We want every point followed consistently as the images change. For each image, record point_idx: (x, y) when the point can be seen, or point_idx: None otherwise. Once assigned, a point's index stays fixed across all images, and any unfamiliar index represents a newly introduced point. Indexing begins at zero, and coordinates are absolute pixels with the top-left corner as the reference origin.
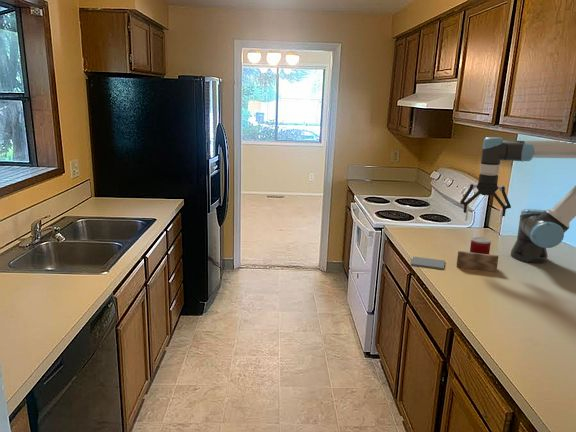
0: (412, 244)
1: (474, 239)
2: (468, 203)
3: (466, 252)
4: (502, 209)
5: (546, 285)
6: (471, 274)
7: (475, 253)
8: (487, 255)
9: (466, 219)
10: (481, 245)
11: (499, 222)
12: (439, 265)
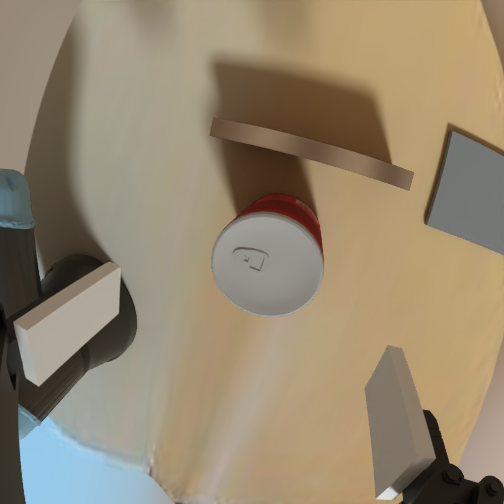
0: (456, 401)
1: (301, 283)
2: (426, 493)
3: (372, 165)
4: (16, 323)
5: (108, 43)
6: (349, 83)
7: (326, 152)
8: (266, 128)
9: (395, 353)
10: (278, 211)
11: (111, 269)
12: (463, 160)
